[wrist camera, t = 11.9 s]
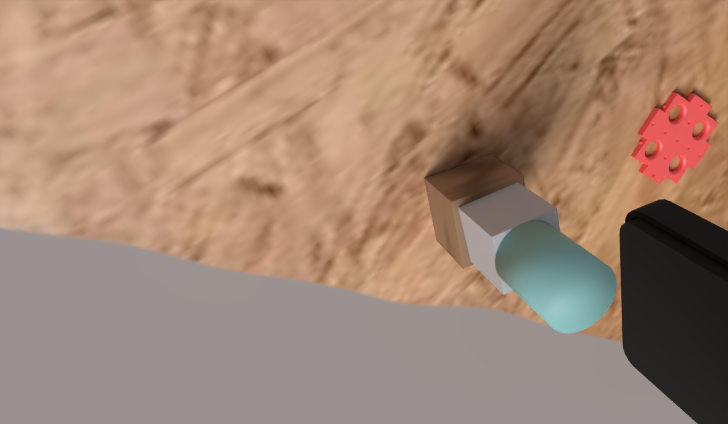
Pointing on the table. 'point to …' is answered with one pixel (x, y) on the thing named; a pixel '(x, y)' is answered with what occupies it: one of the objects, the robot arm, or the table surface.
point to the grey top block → (500, 224)
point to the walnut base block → (464, 198)
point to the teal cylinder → (555, 276)
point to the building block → (674, 137)
